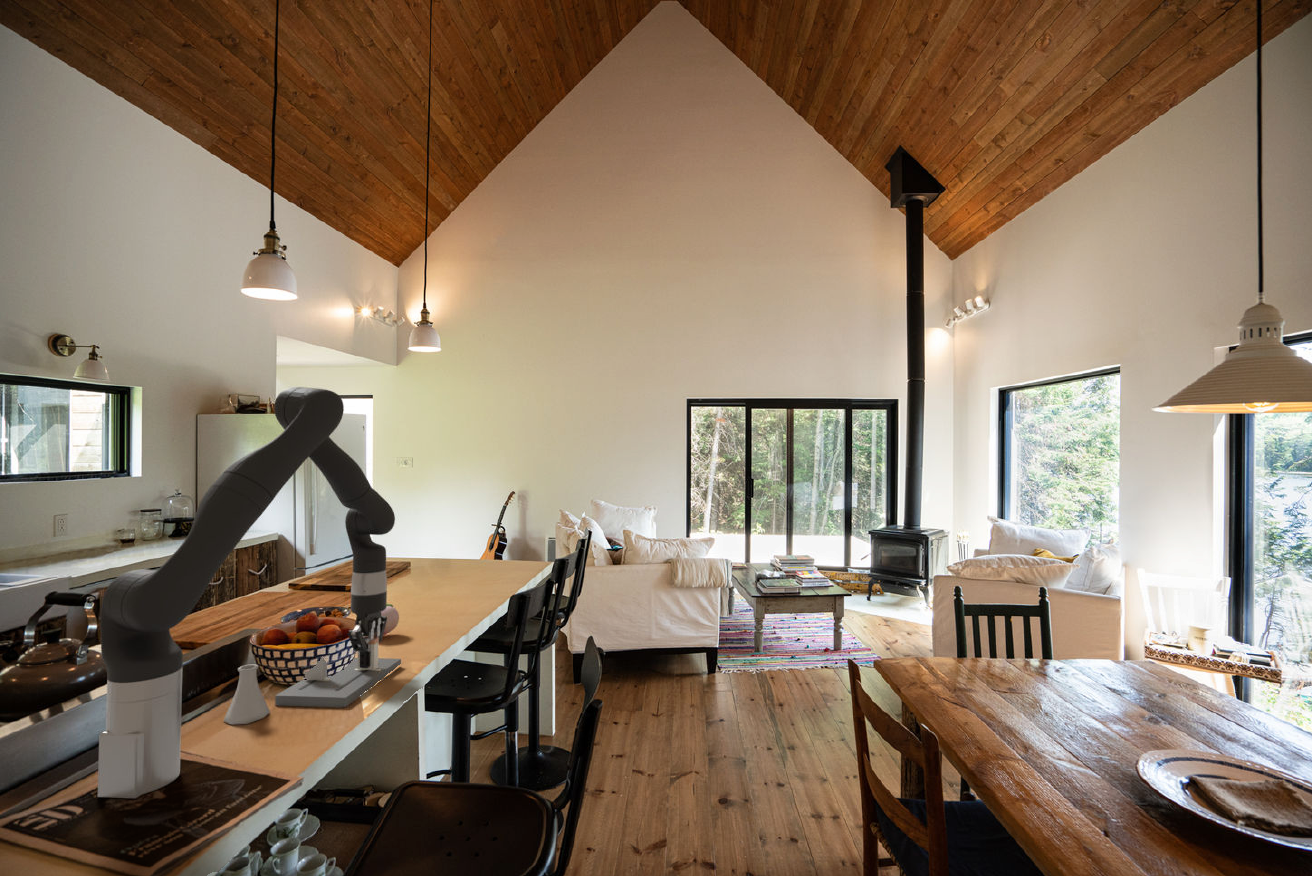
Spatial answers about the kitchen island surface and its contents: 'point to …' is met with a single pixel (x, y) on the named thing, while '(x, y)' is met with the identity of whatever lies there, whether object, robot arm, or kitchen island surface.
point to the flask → (247, 698)
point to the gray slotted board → (336, 686)
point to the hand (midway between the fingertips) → (367, 665)
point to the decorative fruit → (390, 618)
